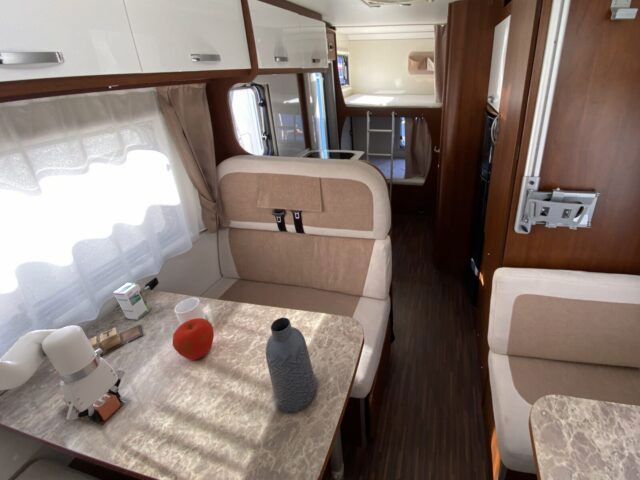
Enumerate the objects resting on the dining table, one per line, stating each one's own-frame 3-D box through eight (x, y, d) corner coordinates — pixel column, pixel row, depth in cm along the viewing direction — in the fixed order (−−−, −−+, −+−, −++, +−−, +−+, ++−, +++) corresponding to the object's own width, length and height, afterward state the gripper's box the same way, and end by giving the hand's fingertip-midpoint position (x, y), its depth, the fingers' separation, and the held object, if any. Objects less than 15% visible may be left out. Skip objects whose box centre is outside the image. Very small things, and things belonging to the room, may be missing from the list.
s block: (121, 405, 90) (115, 395, 88) (105, 420, 86) (98, 410, 84) (110, 401, 91) (104, 391, 90) (94, 416, 87) (87, 406, 86)
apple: (172, 362, 104) (158, 332, 99) (202, 335, 114) (191, 307, 109) (198, 373, 100) (185, 343, 94) (226, 344, 110) (217, 315, 105)
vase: (324, 381, 96) (311, 313, 85) (302, 420, 85) (285, 349, 74) (292, 370, 100) (276, 304, 89) (267, 406, 89) (246, 336, 78)
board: (83, 366, 104) (76, 354, 102) (83, 354, 109) (76, 342, 107) (143, 337, 115) (137, 325, 113) (140, 327, 120) (135, 315, 117)
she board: (129, 404, 92) (121, 391, 89) (104, 428, 85) (95, 416, 83) (90, 390, 96) (82, 378, 94) (63, 413, 90) (54, 400, 88)
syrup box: (138, 321, 123) (125, 293, 117) (126, 319, 124) (112, 291, 118) (150, 310, 128) (138, 283, 122) (139, 309, 129) (126, 282, 123)
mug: (176, 321, 121) (168, 301, 117) (198, 309, 127) (191, 290, 123) (186, 337, 114) (178, 316, 110) (209, 324, 120) (202, 303, 116)
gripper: (104, 339, 90) (127, 380, 97) (31, 394, 75) (64, 438, 82) (123, 344, 88) (144, 386, 95) (51, 401, 73) (83, 446, 80)
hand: (107, 409), depth 89 cm, fingers closed on s block, 4 cm apart
